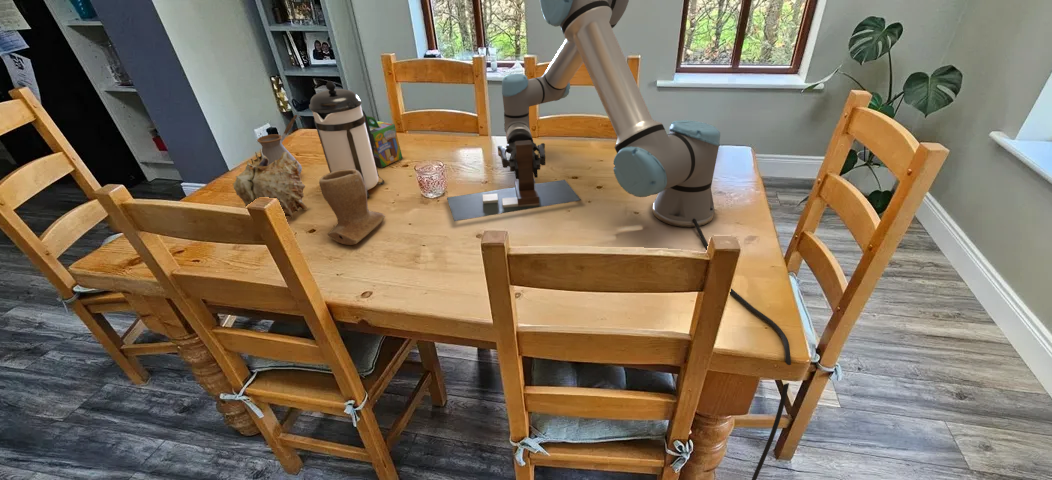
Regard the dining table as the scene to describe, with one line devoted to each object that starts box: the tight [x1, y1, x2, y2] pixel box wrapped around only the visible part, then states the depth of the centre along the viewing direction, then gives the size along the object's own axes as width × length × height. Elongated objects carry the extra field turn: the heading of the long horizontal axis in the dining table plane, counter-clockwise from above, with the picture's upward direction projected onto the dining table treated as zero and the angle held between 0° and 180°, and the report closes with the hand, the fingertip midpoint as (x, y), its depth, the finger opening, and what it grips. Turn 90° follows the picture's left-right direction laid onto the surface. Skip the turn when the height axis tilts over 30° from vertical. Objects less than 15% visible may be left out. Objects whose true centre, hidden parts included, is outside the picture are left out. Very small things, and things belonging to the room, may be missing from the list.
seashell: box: [232, 148, 308, 220], centre depth 125 cm, size 18×18×15 cm
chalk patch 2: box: [502, 197, 518, 208], centre depth 128 cm, size 4×4×1 cm
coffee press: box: [308, 81, 385, 199], centre depth 133 cm, size 17×16×30 cm
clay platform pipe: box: [318, 169, 386, 246], centre depth 117 cm, size 15×12×15 cm
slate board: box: [446, 179, 582, 222], centre depth 131 cm, size 14×34×2 cm, turn 108°
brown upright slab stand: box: [514, 140, 539, 207], centre depth 127 cm, size 12×6×15 cm, turn 8°
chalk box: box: [366, 115, 403, 169], centre depth 154 cm, size 9×9×15 cm
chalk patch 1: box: [483, 194, 498, 204], centre depth 130 cm, size 4×4×1 cm
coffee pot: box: [256, 114, 303, 175], centre depth 148 cm, size 21×12×15 cm, turn 172°
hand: (526, 173), depth 122 cm, fingers closed on brown upright slab stand, 4 cm apart
